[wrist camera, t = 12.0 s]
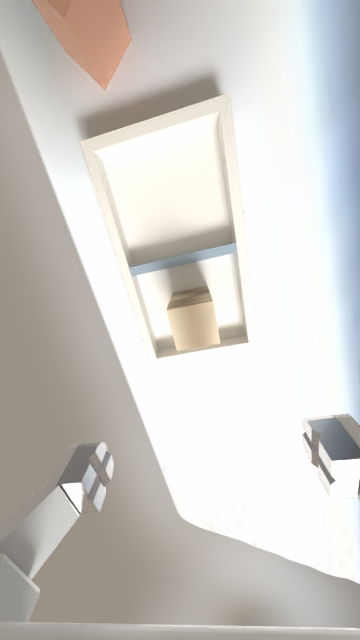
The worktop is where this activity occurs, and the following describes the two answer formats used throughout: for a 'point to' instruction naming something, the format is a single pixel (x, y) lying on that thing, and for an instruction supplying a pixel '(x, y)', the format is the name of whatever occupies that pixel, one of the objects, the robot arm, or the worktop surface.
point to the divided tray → (177, 221)
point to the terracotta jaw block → (89, 33)
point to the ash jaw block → (193, 319)
